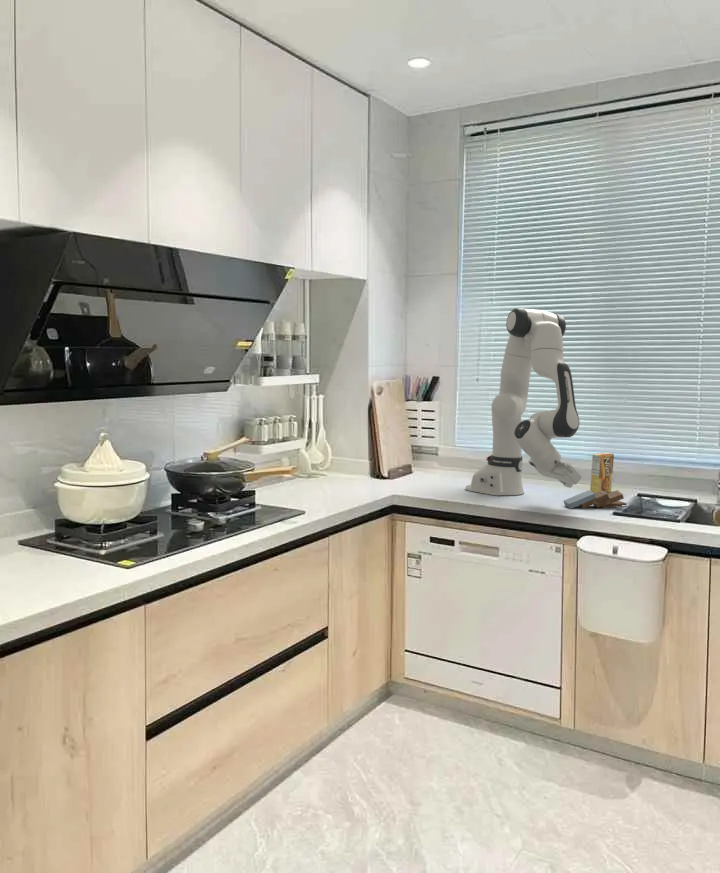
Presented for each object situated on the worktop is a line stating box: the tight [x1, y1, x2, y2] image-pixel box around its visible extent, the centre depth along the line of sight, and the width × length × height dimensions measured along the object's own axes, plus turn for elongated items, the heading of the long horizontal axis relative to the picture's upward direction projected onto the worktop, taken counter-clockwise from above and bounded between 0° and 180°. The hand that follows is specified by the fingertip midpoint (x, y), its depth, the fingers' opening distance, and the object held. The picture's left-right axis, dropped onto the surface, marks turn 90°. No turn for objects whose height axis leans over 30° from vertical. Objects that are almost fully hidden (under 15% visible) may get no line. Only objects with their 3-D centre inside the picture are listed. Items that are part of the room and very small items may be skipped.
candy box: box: [589, 452, 615, 493], centre depth 309 cm, size 9×4×15 cm, turn 129°
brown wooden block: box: [600, 500, 627, 508], centre depth 285 cm, size 2×5×10 cm
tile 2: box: [577, 490, 609, 509], centre depth 281 cm, size 2×5×10 cm
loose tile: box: [563, 489, 596, 509], centre depth 280 cm, size 2×5×10 cm
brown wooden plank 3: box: [592, 489, 625, 509], centre depth 281 cm, size 2×5×10 cm
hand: (569, 485), depth 278 cm, fingers closed
